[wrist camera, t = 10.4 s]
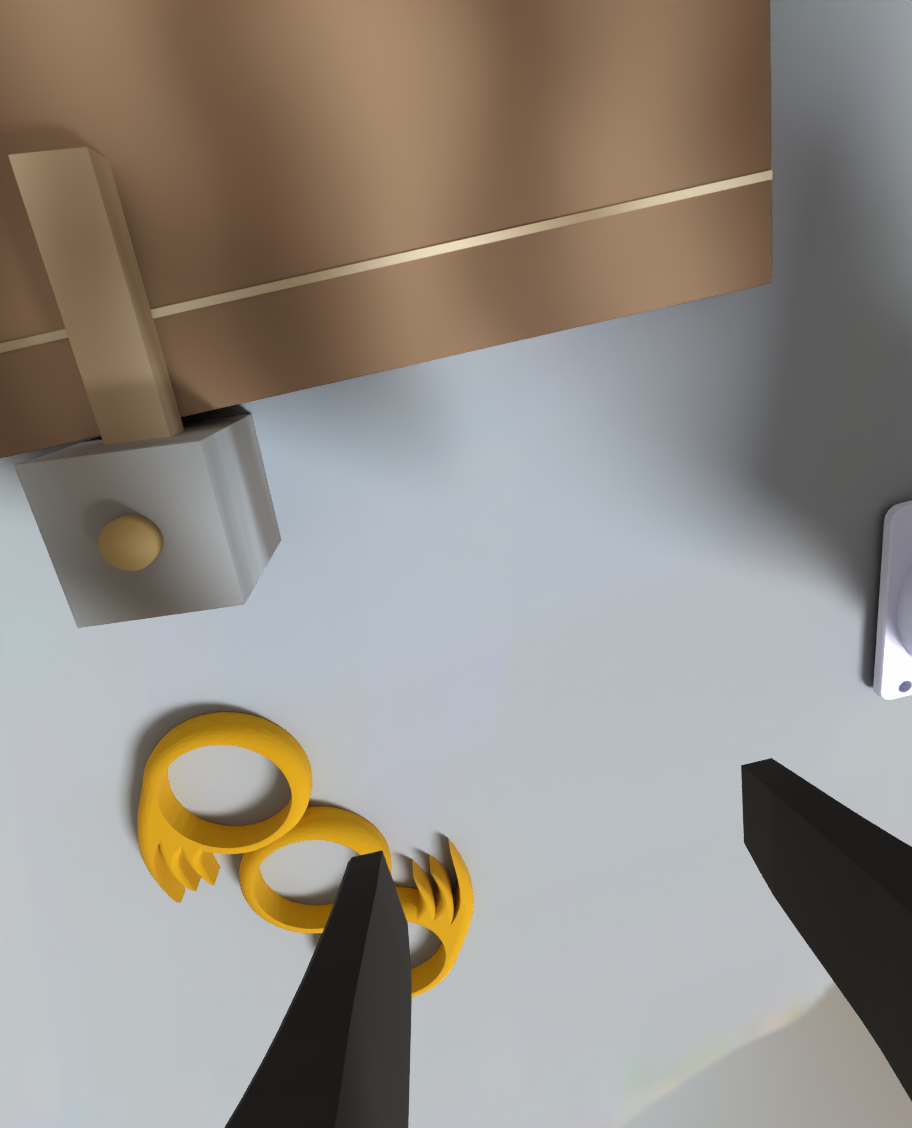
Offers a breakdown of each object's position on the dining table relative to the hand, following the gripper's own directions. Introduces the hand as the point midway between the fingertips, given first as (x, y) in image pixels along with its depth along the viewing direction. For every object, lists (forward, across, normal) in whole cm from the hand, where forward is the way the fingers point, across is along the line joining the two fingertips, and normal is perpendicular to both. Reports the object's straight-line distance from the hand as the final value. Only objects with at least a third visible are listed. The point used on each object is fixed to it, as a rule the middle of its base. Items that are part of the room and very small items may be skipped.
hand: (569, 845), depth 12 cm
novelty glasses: (+11, +9, +9) cm, 17 cm away
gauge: (+10, +8, -10) cm, 16 cm away
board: (+10, +3, -14) cm, 17 cm away
